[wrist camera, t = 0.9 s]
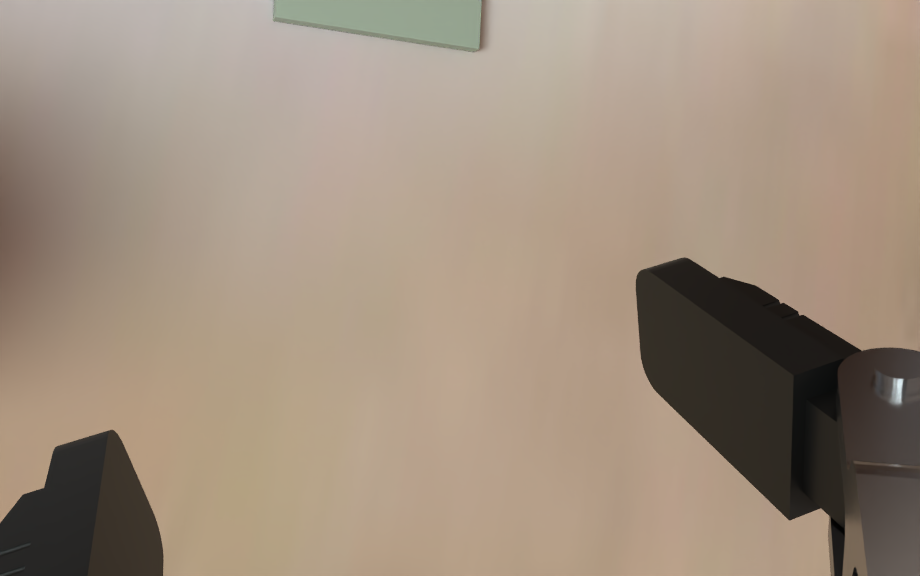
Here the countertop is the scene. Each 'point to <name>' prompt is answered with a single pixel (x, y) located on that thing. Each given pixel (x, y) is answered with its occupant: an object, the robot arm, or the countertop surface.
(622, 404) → the countertop surface
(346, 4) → the coaster
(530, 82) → the countertop surface
